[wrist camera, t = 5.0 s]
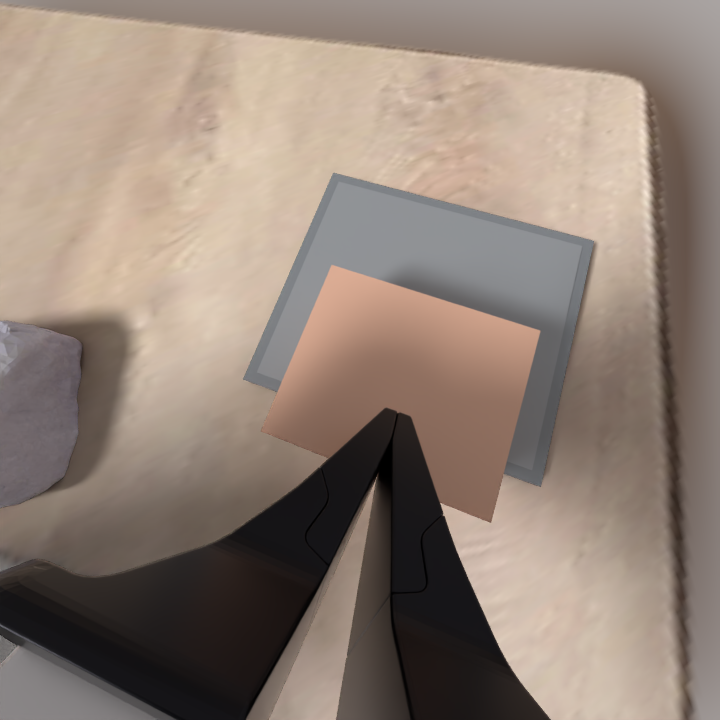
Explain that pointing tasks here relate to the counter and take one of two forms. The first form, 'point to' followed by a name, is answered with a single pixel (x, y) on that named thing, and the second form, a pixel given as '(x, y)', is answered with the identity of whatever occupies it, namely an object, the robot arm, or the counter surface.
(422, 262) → the slate board
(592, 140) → the counter surface
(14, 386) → the stone block
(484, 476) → the salmon orange block
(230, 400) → the counter surface
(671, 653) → the counter surface
